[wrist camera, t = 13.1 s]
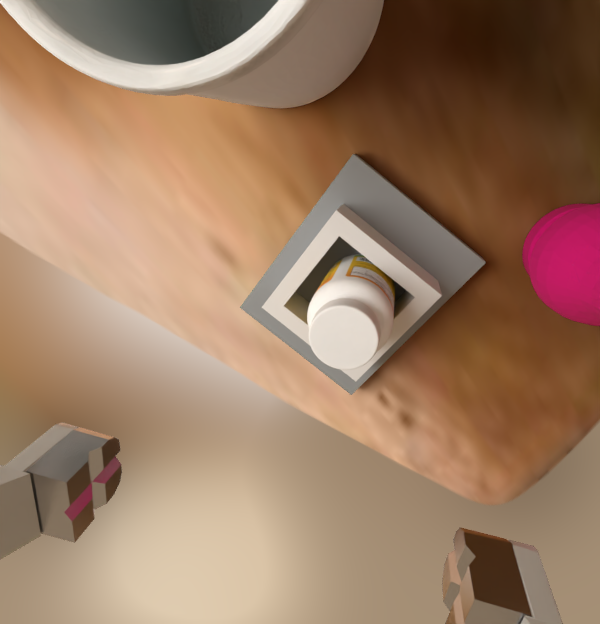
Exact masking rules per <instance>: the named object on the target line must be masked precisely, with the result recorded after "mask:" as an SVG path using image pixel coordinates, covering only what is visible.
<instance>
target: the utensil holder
mask: <svg viewBox="0 0 600 624" xmlns="http://www.w3.org/2000/svg"><path fill="white" fill-rule="evenodd" d="M0 3H1V4H2V5H3V7H4V8H5V9H6V10H7V11H8V13H9V14H10V15H11V16H12V17H13V18H14V19H15V21H16V22H17V23H18V24H19V25H20V26H21V27H22V28H23V29H24V30H25V31H26V32H27V33H28V34H29V35H30V36H31V37H32V38H33V39H34V40H36V41H37V42H38V43H39V44H40V45H41V46H42V47H44V48H45V49H46V50H47V51H49V52H50V53H52V54H53V55H54V56H56V57H57V58H58V59H60V60H61V61H63V62H65V63H66V64H68V65H69V66H71V67H73V68H74V69H76V70H78V71H80V72H82V73H84V74H86V75H88V76H90V77H92V78H94V79H97V80H99V81H101V82H104V83H107V84H110V85H113V86H116V87H119V88H122V89H126V90H130V91H134V92H139V93H146V94H152V95H166V96H172V95H185V94H189V95H194V96H200V97H206V98H212V99H218V100H222V101H227V102H232V103H238V104H245V105H252V106H260V107H267V108H292V107H297V106H302V105H305V104H309V103H311V102H313V101H315V100H318V99H320V98H322V97H324V96H325V95H327V94H328V93H330V92H332V91H333V90H334V89H336V88H337V87H338V86H339V85H340V84H341V83H342V82H344V81H345V80H346V79H347V78H348V77H349V75H350V74H351V73H352V72H353V71H354V70H355V68H356V67H357V66H358V64H359V63H360V61H361V60H362V58H363V56H364V55H365V53H366V51H367V50H368V48H369V46H370V44H371V42H372V39H373V37H374V35H375V32H376V30H377V27H378V24H379V20H380V17H381V13H382V8H383V3H384V0H0Z"/></svg>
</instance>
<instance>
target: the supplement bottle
mask: <svg viewBox="0 0 600 624" xmlns="http://www.w3.org/2000/svg"><path fill="white" fill-rule="evenodd" d="M394 302H395V283H394V280H393V279H392V278H390V277H389V276H388V275H387V274H386V273H384V272H383V271H382V270H381V269H379V268H378V267H377V266H376V265H374V264H373V263H372V262H371V261H369V260H368V259H367V258H366V257H364V256H363V255H362V254H356V255H350V256H347V257H344V258H342V259H341V260H339V261H338V262H336V263H335V264H334V265H333V266H332V267H331V269H330V270H329V271H328V273H327V275H326V276H325V278H324V280H323V281H322V283H321V284H320V286H319V288H318V289H317V291H316V292H315V294H314V296H313V298H312V300H311V302H310V304H309V307H308V312H307V322H308V327H309V342H310V346H311V348H312V350H313V352H314V354H315V355H316V356H317V357H318V358H319V359H320V360H321V361H322V362H323V363H325V364H326V365H328V366H330V367H333V368H336V369H342V370H350V369H356V368H359V367H361V366H363V365H365V364H366V363H368V362H369V361H370V360H371V359H372V358H373V356H374V355H375V353H376V352H377V351H379V350H380V349H381V348H382V347H383V346H384V345H385V344H386V342H387V341H388V339H389V337H390V335H391V332H392V328H393V321H394Z"/></svg>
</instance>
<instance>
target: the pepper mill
mask: <svg viewBox="0 0 600 624" xmlns="http://www.w3.org/2000/svg"><path fill="white" fill-rule="evenodd" d="M522 255H523V263H524V267H525V269H526V271H527V273H528V275H529V276H530V279H531V282H532V285H533V288H534V290H535V292H536V293H537V295H538V297H539V298H540V299H541V300H542V301H543V303H545V304H546V305H547V306H548V307H550V308H551V309H552V310H554V311H555V312H557V313H558V314H560V315H561V316H563V317H565V318H568V319H570V320H573V321H576V322H580V323H584V324H588V325H594V326H600V203H597V204H592V205H591V204H571V205H567V206H563V207H560V208H558V209H555V210H553V211H551V212H550V213H548V214H546V215H545V216H544V217H542V218H541V219H540V220H539V221H538V222H537V223H536V224H535V225H534V226H533V227H532V229H531V230H530V232H529V234H528V235H527V237H526V240H525V243H524V246H523V254H522Z"/></svg>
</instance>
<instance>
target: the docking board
mask: <svg viewBox="0 0 600 624" xmlns="http://www.w3.org/2000/svg"><path fill="white" fill-rule="evenodd" d="M356 254H362V255H363V256H364V257H366V258H367V259H368V260H369V261H371V262H372V263H373V264H374V265H376V266H377V267H378V268H379V269H381V270H382V271H383V272H384V273H386V274H387V275H388V276H389V277H390V278H392V279H393V280H394V283H395V302H394V321H393V328H392V332H391V335H390V337H389V339H388V341H387V342H386V344H385V345H384V346H383V347H382V348H381V349H380V350H379V351H377V352H376V353H375V355H374V356H373V358H372V359H371V360H370V361H369V362H368V363H366V364H365V365H363V366H361V367H359V368H356V369H350V370H342V369H336V368H333V367H330V366H328V365H326V364H325V363H323V362H322V361H321V360H320V359H319V358H318V357H317V356H316V355H315V354H314V352H313V350H312V348H311V346H310V342H309V327H308V322H307V312H308V307H309V304H310V302H311V300H312V298H313V296H314V294H315V292H316V291H317V289H318V288H319V286H320V284H321V283H322V281H323V280H324V278H325V276H326V275H327V273H328V271H329V270H330V269H331V267H332V266H333V265H334V264H335V263H336V262H338V261H339V260H341V259H342V258H344V257H347V256H350V255H356ZM485 263H486V262H485V261H484V259H483V258H482V257H481V256H480V255H479V254H477V253H476V252H475V251H474V250H472V249H471V248H470V247H469V246H468V245H466V244H465V243H464V242H463V241H461V240H460V239H459V238H458V237H457V236H455V235H454V234H453V233H452V232H450V231H449V230H448V229H447V228H446V227H444V226H443V225H442V224H441V223H440V222H438V221H437V220H436V219H435V218H433V217H432V216H431V215H430V214H429V213H427V212H426V211H425V210H424V209H422V208H421V207H420V206H419V205H418V204H416V203H415V202H414V201H413V200H411V199H410V198H409V197H408V196H407V195H405V194H404V193H403V192H402V191H400V190H399V189H398V188H397V187H396V186H394V185H393V184H392V183H391V182H390V181H388V180H387V179H386V178H385V177H383V176H382V175H381V174H380V173H379V172H377V171H376V170H375V169H374V168H372V167H371V166H370V165H369V164H368V163H366V162H365V161H364V160H363V159H361V158H360V157H359V156H358V155H357V154H353V155H352V156H351V158H350V159H349V160H348V162H347V163H346V164H345V166H344V167H343V168H342V170H341V171H340V173H339V174H338V175H337V177H336V178H335V179H334V181H333V182H332V183H331V185H330V186H329V187H328V189H327V190H326V192H325V193H324V194H323V196H322V197H321V198H320V200H319V201H318V202H317V204H316V205H315V206H314V208H313V209H312V210H311V212H310V213H309V215H308V216H307V217H306V219H305V220H304V221H303V223H302V224H301V225H300V227H299V228H298V229H297V231H296V232H295V234H294V235H293V236H292V238H291V239H290V240H289V242H288V243H287V244H286V246H285V247H284V248H283V250H282V251H281V252H280V254H279V255H278V257H277V258H276V259H275V261H274V262H273V263H272V265H271V266H270V267H269V269H268V270H267V271H266V273H265V274H264V276H263V277H262V278H261V280H260V281H259V282H258V284H257V285H256V286H255V288H254V289H253V290H252V292H251V293H250V295H249V296H248V297H247V299H246V300H245V301H244V303H243V304H242V305H241V307H240V308H241V309H243V310H244V311H245V312H246V313H248V314H249V315H250V316H252V317H253V318H254V319H255V320H257V321H258V322H259V323H260V324H262V325H263V326H264V327H266V328H267V329H268V330H269V331H271V332H272V333H273V334H274V335H276V336H277V337H278V338H280V339H281V340H282V341H283V342H285V343H286V344H287V345H288V346H290V347H291V348H292V349H294V350H295V351H296V352H297V353H299V354H300V355H301V356H302V357H304V358H305V359H306V360H308V361H309V362H310V363H311V364H313V365H314V366H315V367H316V368H318V369H319V370H320V371H322V372H323V373H324V374H325V375H327V376H328V377H329V378H330V379H332V380H333V381H334V382H336V383H337V384H338V385H339V386H341V387H342V388H343V389H344V390H346V391H347V392H348V393H350V394H351V395H352V394H353V393H354V392H355V391H356V390H357V389H358V388H359V387H360V386H361V385H362V384H363V383H364V382H365V381H366V380H367V379H368V378H369V377H370V376H371V375H372V374H373V373H374V372H375V371H376V370H377V369H378V368H379V367H380V366H381V365H382V364H383V363H384V362H385V361H386V360H388V359H389V358H390V357H391V356H392V355H393V354H394V353H395V352H396V351H397V350H398V349H399V348H400V347H401V346H402V345H403V344H404V343H405V342H406V341H407V340H408V339H409V338H410V337H411V336H412V335H413V334H414V333H415V332H416V331H417V330H418V329H419V328H420V327H421V326H422V325H423V324H424V323H425V322H426V321H427V320H428V319H429V318H430V317H431V316H432V315H433V314H434V313H435V312H436V311H437V310H438V309H439V308H440V307H441V306H442V305H443V304H444V303H445V302H446V301H447V300H448V299H449V298H450V297H451V296H452V295H454V294H455V293H456V292H457V291H458V290H459V289H460V288H461V287H462V286H463V285H464V284H465V283H466V282H467V281H468V280H469V279H470V278H471V277H472V276H473V275H474V274H475V273H476V272H477V271H478V270H479V269H480V268H481V267H482V266H483V265H484V264H485Z"/></svg>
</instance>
